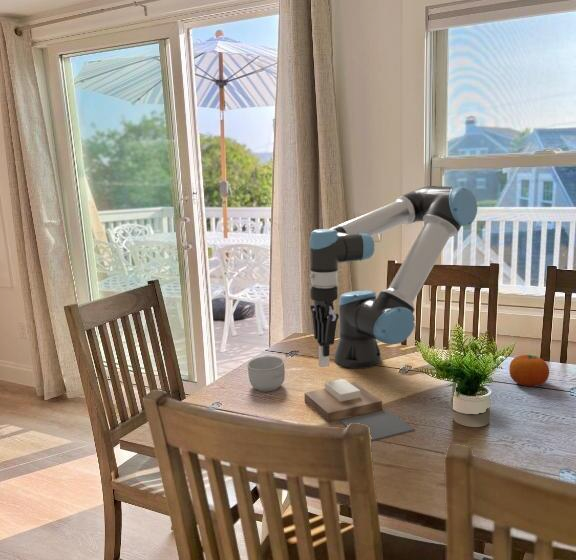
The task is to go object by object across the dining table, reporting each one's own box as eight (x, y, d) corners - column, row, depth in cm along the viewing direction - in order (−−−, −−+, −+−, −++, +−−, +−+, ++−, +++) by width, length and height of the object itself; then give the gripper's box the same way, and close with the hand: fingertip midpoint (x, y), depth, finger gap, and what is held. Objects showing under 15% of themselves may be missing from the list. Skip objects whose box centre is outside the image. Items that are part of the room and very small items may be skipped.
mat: (387, 410, 146) (387, 409, 146) (414, 429, 135) (414, 428, 135) (340, 421, 141) (340, 420, 141) (365, 442, 130) (365, 441, 130)
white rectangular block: (343, 385, 157) (343, 378, 156) (360, 397, 149) (360, 390, 148) (324, 389, 154) (324, 382, 154) (340, 401, 146) (340, 394, 146)
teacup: (280, 396, 157) (280, 369, 155) (243, 394, 159) (242, 367, 157) (290, 377, 170) (289, 352, 169) (256, 375, 172) (255, 351, 171)
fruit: (533, 394, 154) (535, 366, 152) (501, 382, 162) (502, 356, 161) (555, 385, 159) (557, 358, 158) (523, 374, 168) (525, 348, 166)
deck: (355, 390, 159) (355, 382, 159) (382, 409, 147) (382, 400, 146) (304, 401, 153) (304, 392, 153) (328, 422, 140) (327, 413, 140)
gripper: (301, 282, 159) (302, 360, 164) (322, 291, 147) (322, 375, 152) (325, 279, 162) (325, 356, 167) (347, 288, 150) (346, 371, 155)
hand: (324, 365), depth 159 cm, fingers closed
